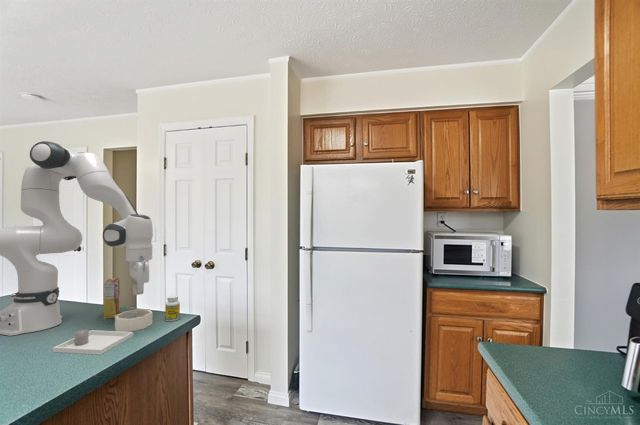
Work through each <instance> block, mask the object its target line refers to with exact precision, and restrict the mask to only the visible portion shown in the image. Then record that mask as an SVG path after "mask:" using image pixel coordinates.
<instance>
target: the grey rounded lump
mask: <svg viewBox="0 0 640 425" xmlns="http://www.w3.org/2000/svg"><path fill="white" fill-rule="evenodd" d="M131 318H136V313H128V314H126V315H125V319H131Z"/></svg>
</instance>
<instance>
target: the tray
mask: <svg viewBox="0 0 640 425" xmlns="http://www.w3.org/2000/svg"><path fill="white" fill-rule="evenodd" d="M133 337H134V332H133V331H130V332H124V331H116V330H94V329H93V330H92V329H91V330H89V336H88V343H87V344H84V345H79V346H75V345H74V344H75V337H73V338H71V339H69V340H66V341H65V342H63V343H60V344H58V345H56V346H54V347H52V353H62V354H77V355H78V354H81V355H94V356H95V355H98V356H100V355H104V354H105V353H106V352H108V351H110V350H112V349H113V348H116V347H117V346H119V345H121V344H122V343H124V342H126V341H127V340H129V339H130V338H133Z"/></svg>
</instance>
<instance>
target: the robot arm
mask: <svg viewBox="0 0 640 425" xmlns="http://www.w3.org/2000/svg"><path fill="white" fill-rule="evenodd" d="M29 158H30V161H32V162H33V164H31V165H29V166H28V167H26V168H25V170H24V173H23V175H22V181H21V187H20V188H21V189H20V210H21V212H22V213H23V214H25V215H27V216H28V217H31V218H34V219H37V220H38V221H40V222H42V225H39V226H38V225H37V226H36V225H35V226H34V225H30V226H23V225H22V226H18V225H17V226H16V225H15V226H11V227H3V228H0V256H1V257H3V258H4V259H6V260H7V261H9V262H10V264H12V266H14V268H15V271H16V275H17V283H18V284H17V287H18V288H17V292H15V293H11V298H13V297H14V298H13V300H12V302H11V303H10V304H8V306H6V307H4V308H3V309H1V310H0V335H2V336H3V335H5V336H9V337H12V336H17V335H22V334H26V333H32V332H33V333H34V332H39V331H44V330H46V329H51V328H54V327H56V326H58V325H60V324H62V322H63V315H61V308H60V300H59V296H60V290H59V289H60V288H59V286H58V285H59V284H58V283H59V282H58V277H59V276H58V275H59V274H58V272H59V271H58V268H57V267H56V266H55V265H53V264H51V263H48V262H45V261H42V260H39V259H38V258H37V256H39V255H46V254H63V253H67V252H72V251H76V250H77V249H78V248H80V246H81V245H82V242H83V235H82V232H81V231H80V230H79V229H78V227H76V226H74V225H72V224H71V223H69V222H68V221H67V220H66V219H65V218H64V216H63V213H62V211H61V205H60V182H61V181H62V180H64V181H71V180H74V179H76V180H77V183H78V185H79V187H80V190H82V192H83V193H84V195H86V197H88V198H89V199H92V200H94V201H98V202H101V203H103V204H106V205H108V206H110V207H112V208H114V209H115V210H116V211H117V212H118V215H119V216H120V218H121V220H118V221H117V222H114V223H113V222H112V223H109V224H107V225H106V226H105V227H104V229H103V230H102V240H103V242H104V243H105V244H106V245H107V246H108V247H113V248H121V247H126V248H125V261H126V262H128V271H129V272H128V273H129V276H130V277H131V278H132V279H133V284H134V283H137V292H138V293H140V292H143V286H145V283H146V284H147V283H149V282H150V264H149V263H150V262H149V261H151V260H153V243H152V239H153V235H154V234H153V229H154V228H153V221H152V219H151V216H148V215H145V214H139V212H137V210H136V208H135V206H134V205H133V203H132V201H131V200H130V199H129V197H128V196H127V195H126V193H125V191H123V190H122V189H121V188H120V187H119V186H118V184H116V182H115V180H114V179H113V177H112V176H111V173H110V171H109V169H108V167H107V166H106V164H105V163H104V161H103V160H102V158H100V156H98V154H95V153H94V152H82V153H79V152H77V151H75V150H73V149H72V148H69V147H65V146H63V145H61V144H58V143H55V142H53V141H52V142H51V141H45V140H44V141H39V142H37V143H35V144H34V145H32V147H31V148H30V151H29Z"/></svg>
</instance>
